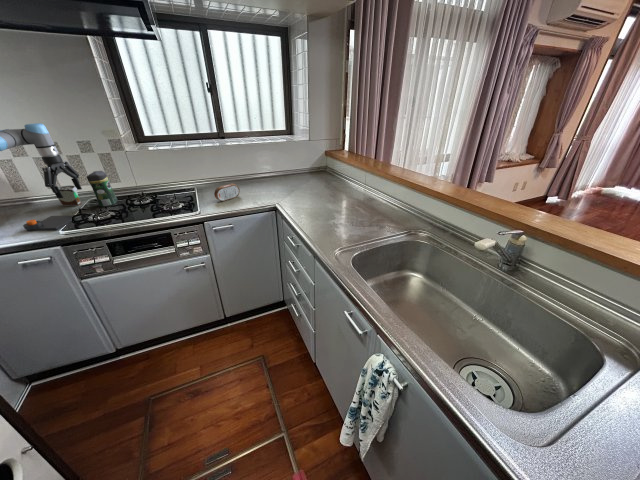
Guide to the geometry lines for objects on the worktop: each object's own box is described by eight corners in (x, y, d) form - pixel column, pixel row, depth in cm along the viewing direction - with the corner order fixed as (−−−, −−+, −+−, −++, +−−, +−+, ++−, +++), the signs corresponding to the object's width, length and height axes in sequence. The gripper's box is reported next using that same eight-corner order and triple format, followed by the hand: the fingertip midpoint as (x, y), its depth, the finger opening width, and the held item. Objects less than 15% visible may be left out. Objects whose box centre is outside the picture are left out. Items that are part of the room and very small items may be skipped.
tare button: (26, 225, 124) (23, 222, 123) (32, 222, 127) (30, 219, 126) (32, 225, 124) (30, 222, 123) (39, 222, 127) (37, 219, 126)
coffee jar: (104, 202, 156) (90, 170, 146) (119, 200, 158) (106, 169, 148) (97, 208, 148) (82, 175, 138) (114, 206, 150) (100, 173, 140)
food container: (89, 201, 157) (81, 185, 152) (81, 205, 152) (72, 188, 146) (69, 201, 157) (60, 185, 152) (60, 205, 152) (50, 188, 147)
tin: (238, 195, 163) (236, 181, 158) (241, 196, 161) (239, 182, 156) (215, 202, 153) (212, 187, 149) (218, 203, 152) (215, 189, 147)
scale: (23, 232, 124) (19, 226, 123) (50, 218, 137) (47, 213, 136) (55, 231, 124) (52, 225, 123) (80, 217, 137) (77, 212, 136)
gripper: (36, 161, 130) (58, 201, 141) (75, 150, 151) (92, 186, 162) (20, 161, 130) (44, 202, 141) (62, 150, 151) (80, 186, 162)
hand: (70, 193), depth 151 cm, fingers open, 13 cm apart
